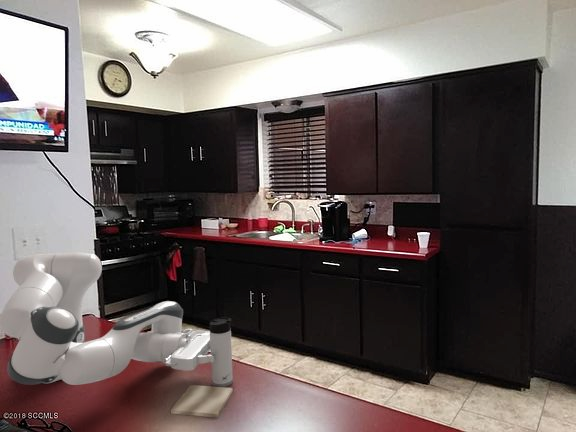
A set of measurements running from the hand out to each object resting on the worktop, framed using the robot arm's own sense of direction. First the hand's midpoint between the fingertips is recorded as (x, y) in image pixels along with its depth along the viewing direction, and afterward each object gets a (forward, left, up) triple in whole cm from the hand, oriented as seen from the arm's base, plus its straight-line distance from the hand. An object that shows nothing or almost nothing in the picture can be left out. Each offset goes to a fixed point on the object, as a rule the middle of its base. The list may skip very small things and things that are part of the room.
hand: (220, 351), depth 126 cm
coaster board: (-2, -11, -10) cm, 15 cm away
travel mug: (0, 0, -10) cm, 10 cm away
